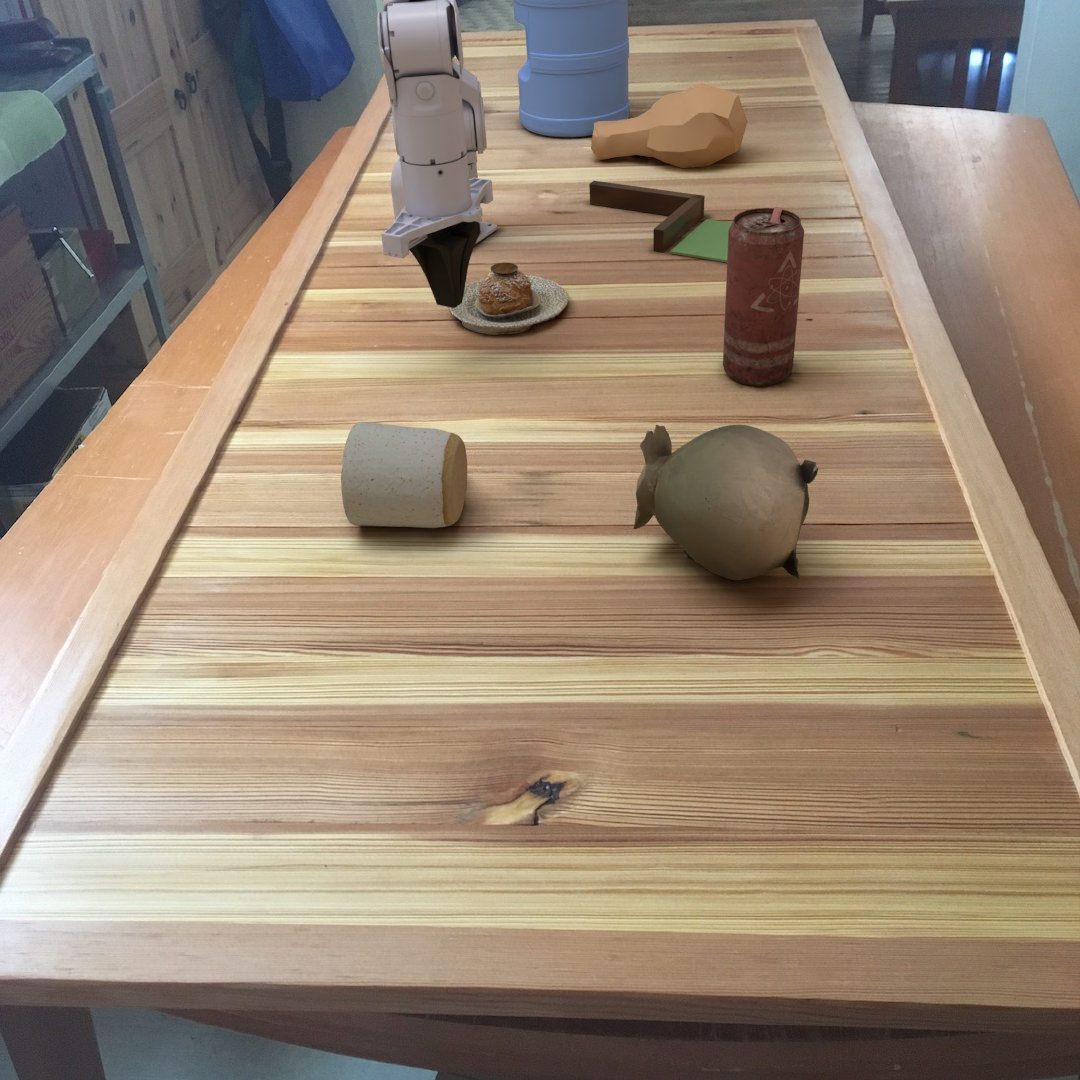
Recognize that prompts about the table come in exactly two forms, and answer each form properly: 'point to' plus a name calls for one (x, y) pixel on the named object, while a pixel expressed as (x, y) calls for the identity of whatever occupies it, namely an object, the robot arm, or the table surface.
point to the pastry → (509, 301)
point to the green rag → (706, 241)
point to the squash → (678, 129)
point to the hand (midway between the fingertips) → (449, 303)
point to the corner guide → (653, 208)
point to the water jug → (573, 65)
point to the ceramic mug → (403, 476)
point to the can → (762, 295)
